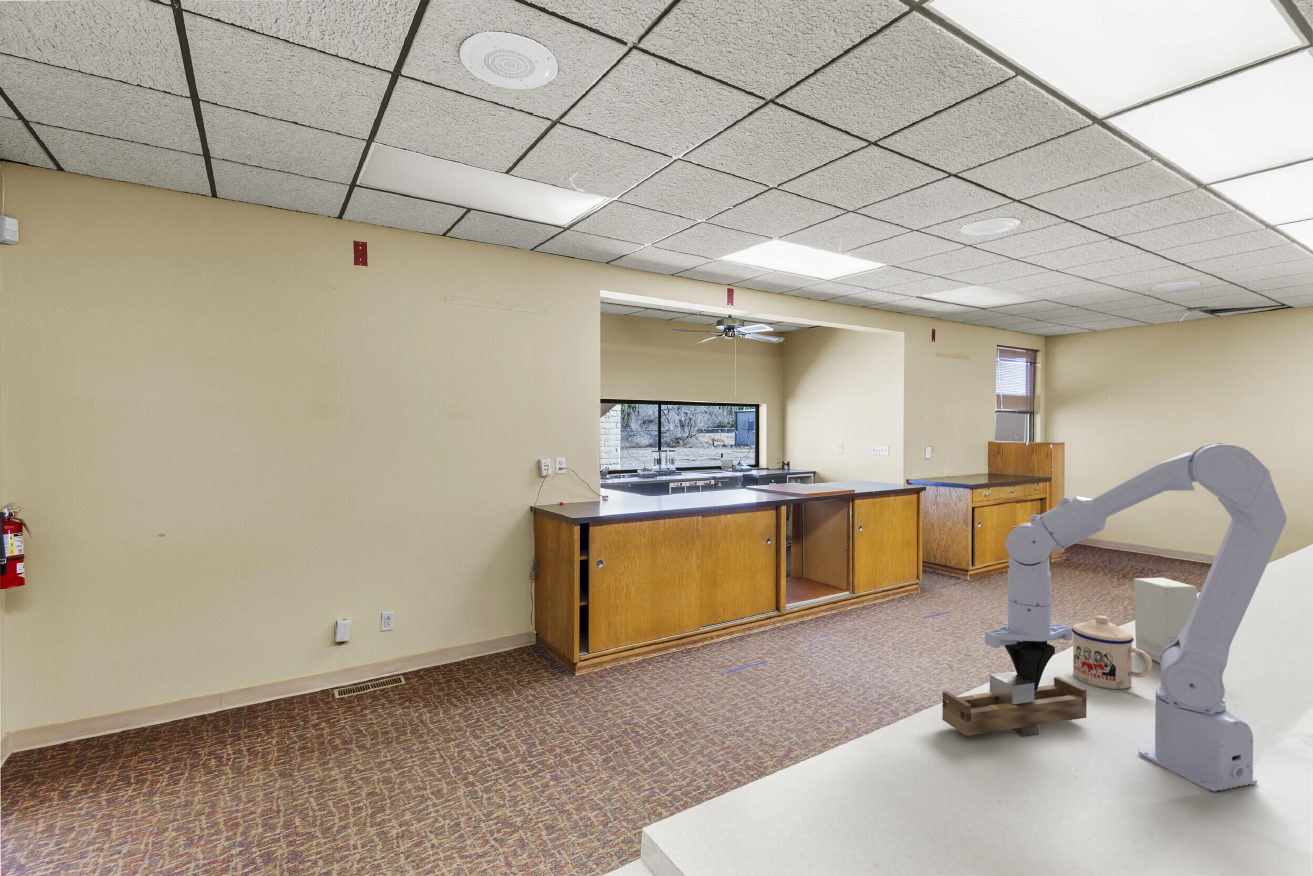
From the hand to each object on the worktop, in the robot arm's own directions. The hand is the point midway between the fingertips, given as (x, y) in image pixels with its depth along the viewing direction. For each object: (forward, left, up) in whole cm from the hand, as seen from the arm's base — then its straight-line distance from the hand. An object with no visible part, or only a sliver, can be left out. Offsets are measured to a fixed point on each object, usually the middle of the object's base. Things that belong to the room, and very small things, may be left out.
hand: (1028, 688), depth 95 cm
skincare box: (+15, -48, -6) cm, 51 cm away
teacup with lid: (+9, -27, -6) cm, 29 cm away
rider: (0, +3, -2) cm, 4 cm away
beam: (0, +3, -6) cm, 6 cm away
